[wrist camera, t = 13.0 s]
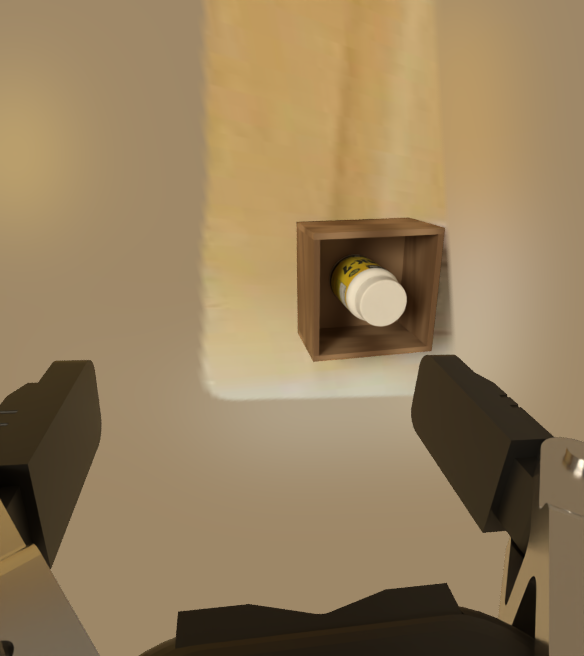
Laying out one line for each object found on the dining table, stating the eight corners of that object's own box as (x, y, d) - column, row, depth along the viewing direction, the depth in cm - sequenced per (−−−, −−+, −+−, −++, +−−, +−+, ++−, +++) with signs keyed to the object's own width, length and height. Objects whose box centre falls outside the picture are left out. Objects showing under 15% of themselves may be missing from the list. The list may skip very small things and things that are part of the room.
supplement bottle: (372, 249, 42) (411, 269, 35) (376, 295, 44) (414, 324, 37) (324, 258, 42) (353, 281, 34) (330, 305, 44) (358, 336, 36)
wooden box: (297, 332, 45) (313, 361, 38) (296, 221, 41) (313, 233, 34) (401, 324, 47) (432, 350, 40) (409, 217, 43) (446, 227, 36)
